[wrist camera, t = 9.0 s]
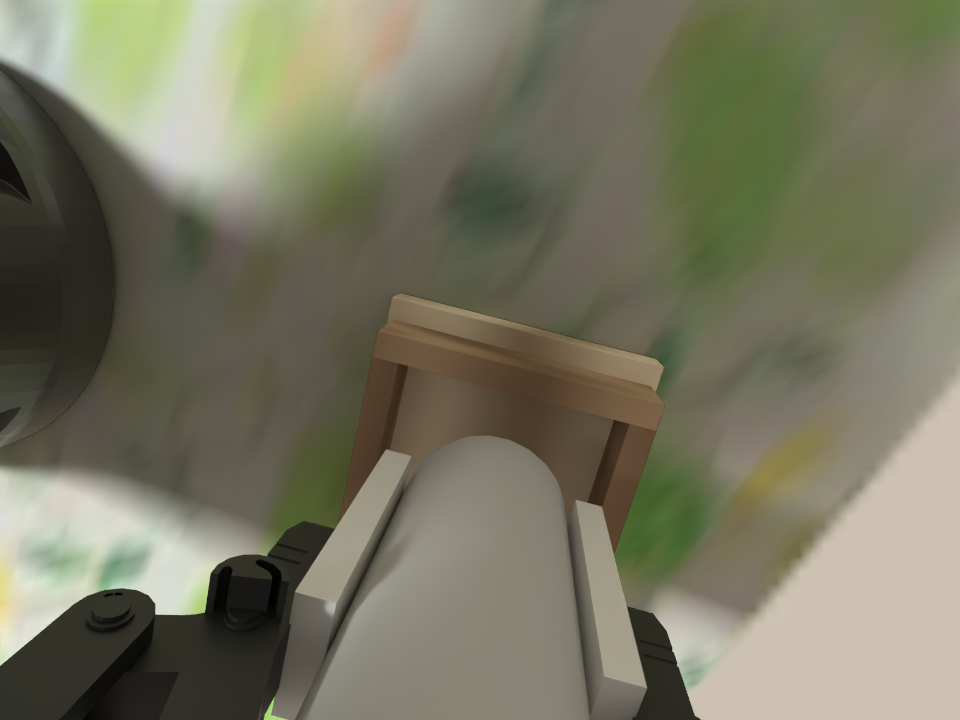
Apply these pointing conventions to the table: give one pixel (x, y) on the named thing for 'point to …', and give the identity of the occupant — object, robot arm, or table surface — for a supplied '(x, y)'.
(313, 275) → the table surface
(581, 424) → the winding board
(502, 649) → the beverage can
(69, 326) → the robot arm
